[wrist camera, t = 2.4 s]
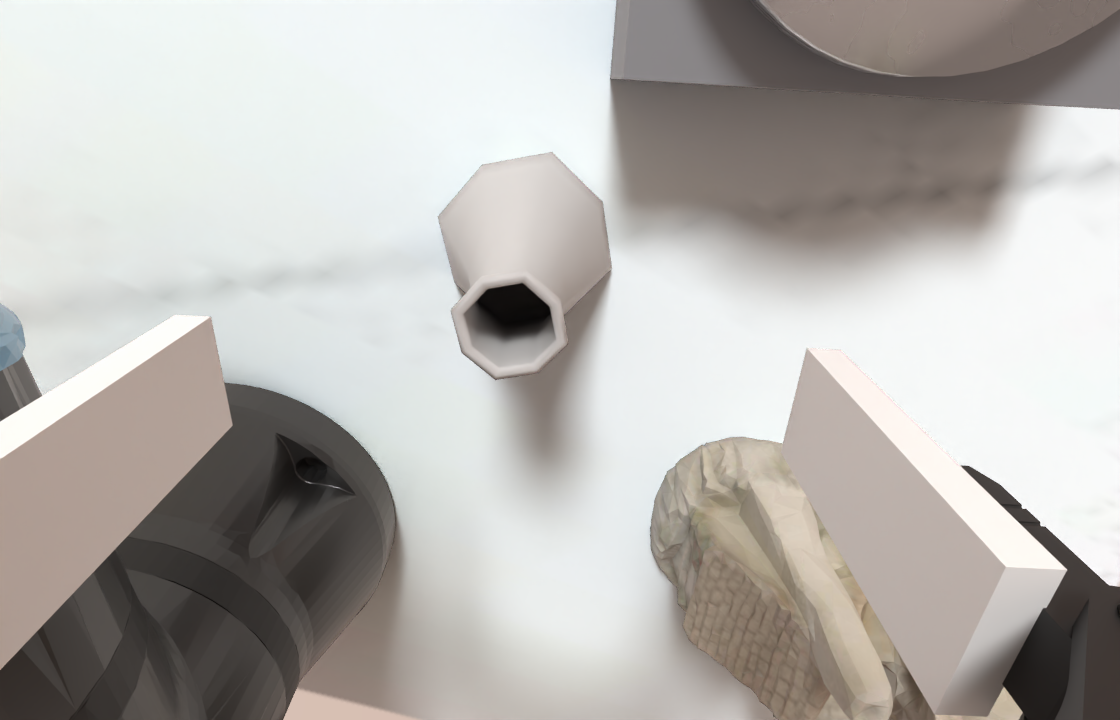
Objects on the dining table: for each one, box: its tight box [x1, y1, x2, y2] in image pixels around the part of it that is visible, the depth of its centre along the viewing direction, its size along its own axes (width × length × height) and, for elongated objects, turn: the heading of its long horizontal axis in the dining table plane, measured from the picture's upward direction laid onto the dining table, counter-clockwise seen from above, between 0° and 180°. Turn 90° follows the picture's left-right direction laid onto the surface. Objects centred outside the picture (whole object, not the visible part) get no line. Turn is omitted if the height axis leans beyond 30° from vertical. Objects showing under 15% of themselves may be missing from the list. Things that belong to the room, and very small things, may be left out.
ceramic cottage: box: [650, 437, 1023, 720], centre depth 28 cm, size 16×16×15 cm
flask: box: [438, 152, 612, 380], centre depth 21 cm, size 7×7×10 cm
